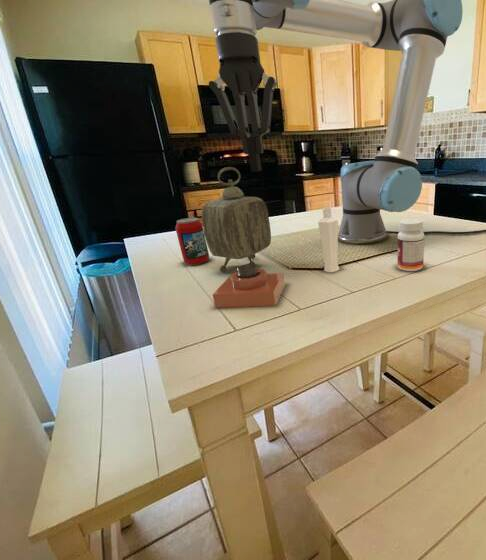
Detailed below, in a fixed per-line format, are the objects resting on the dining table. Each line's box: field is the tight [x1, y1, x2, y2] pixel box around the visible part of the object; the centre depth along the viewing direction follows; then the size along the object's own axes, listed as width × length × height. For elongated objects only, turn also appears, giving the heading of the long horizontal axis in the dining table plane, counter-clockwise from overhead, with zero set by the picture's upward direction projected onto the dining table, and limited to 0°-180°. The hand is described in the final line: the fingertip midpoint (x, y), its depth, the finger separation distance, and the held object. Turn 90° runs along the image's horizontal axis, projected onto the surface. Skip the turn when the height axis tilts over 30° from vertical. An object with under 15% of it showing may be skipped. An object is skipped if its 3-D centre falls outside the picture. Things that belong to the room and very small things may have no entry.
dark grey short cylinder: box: [236, 263, 259, 278], centre depth 69 cm, size 4×4×2 cm
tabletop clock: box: [201, 166, 272, 273], centre depth 84 cm, size 14×9×25 cm, turn 152°
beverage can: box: [175, 217, 210, 266], centre depth 93 cm, size 7×7×12 cm
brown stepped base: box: [212, 267, 286, 309], centre depth 70 cm, size 12×10×5 cm
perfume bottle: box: [317, 207, 340, 273], centre depth 80 cm, size 5×4×15 cm
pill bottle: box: [397, 218, 425, 272], centre depth 79 cm, size 6×6×11 cm
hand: (256, 170), depth 71 cm, fingers closed
